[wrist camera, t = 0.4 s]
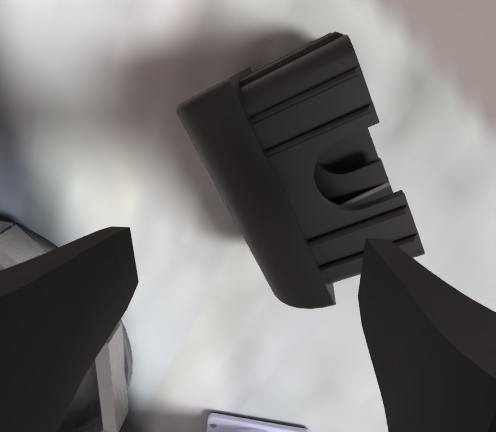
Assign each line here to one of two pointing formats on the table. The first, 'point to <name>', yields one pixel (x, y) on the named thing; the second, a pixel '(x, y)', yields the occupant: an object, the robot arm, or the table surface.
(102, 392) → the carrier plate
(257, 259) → the end cap
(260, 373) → the table surface
